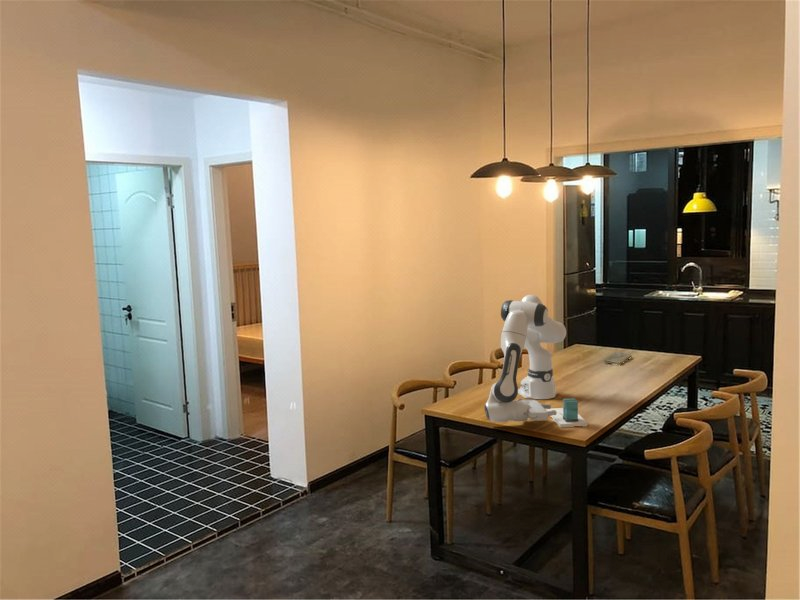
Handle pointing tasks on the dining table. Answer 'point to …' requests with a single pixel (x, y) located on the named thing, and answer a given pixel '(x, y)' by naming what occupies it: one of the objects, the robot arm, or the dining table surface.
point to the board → (561, 422)
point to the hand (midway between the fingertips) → (553, 409)
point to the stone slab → (617, 358)
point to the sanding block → (570, 410)
